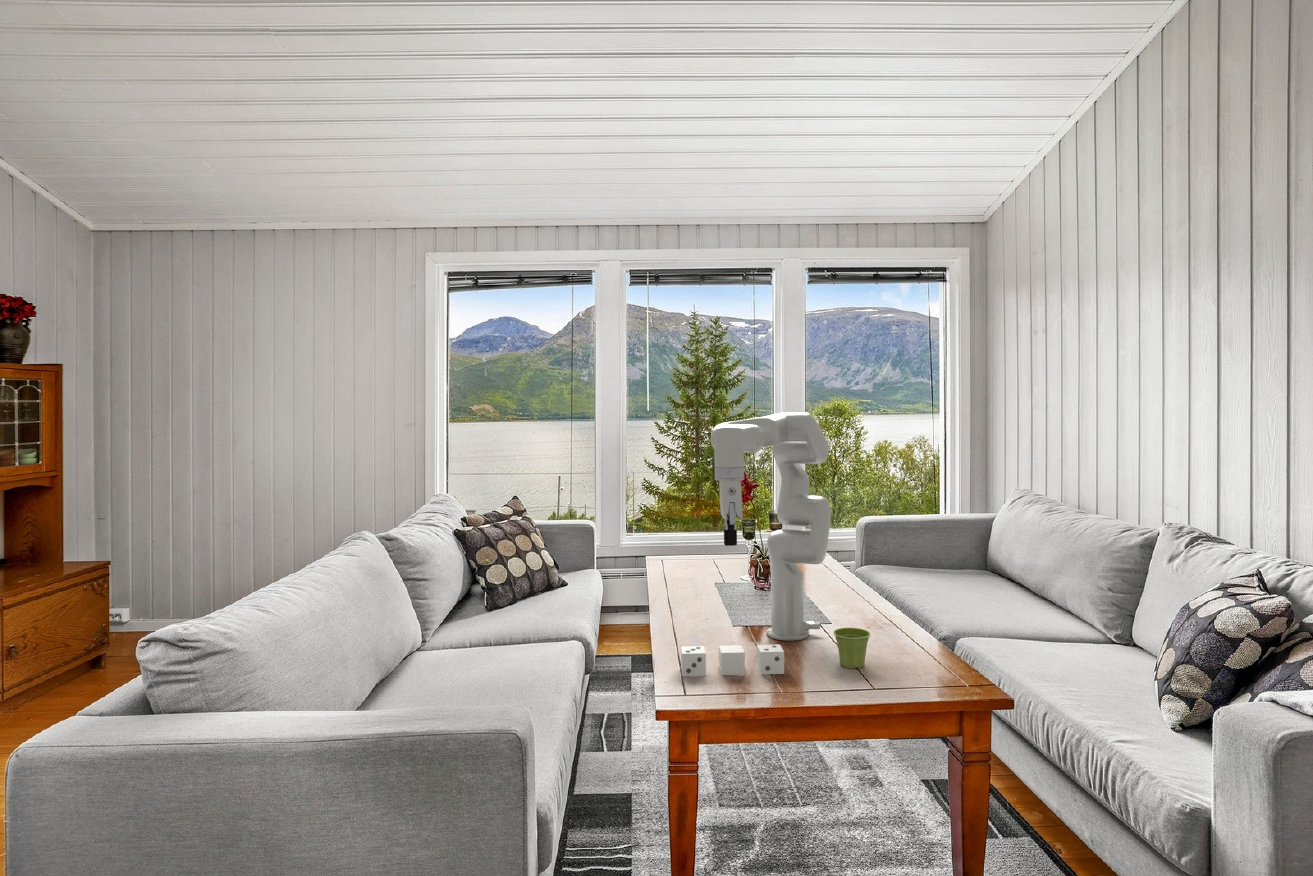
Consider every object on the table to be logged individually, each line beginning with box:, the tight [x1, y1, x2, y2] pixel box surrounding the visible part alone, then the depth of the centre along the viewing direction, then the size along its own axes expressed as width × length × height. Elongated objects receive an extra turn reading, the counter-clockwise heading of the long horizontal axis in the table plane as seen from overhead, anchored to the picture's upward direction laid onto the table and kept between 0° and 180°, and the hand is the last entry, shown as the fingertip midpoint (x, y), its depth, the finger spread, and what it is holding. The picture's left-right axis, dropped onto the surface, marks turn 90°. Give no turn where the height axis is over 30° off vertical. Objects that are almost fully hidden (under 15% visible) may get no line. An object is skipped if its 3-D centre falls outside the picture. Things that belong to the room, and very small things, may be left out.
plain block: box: [718, 644, 746, 676], centre depth 202 cm, size 6×6×6 cm
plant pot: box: [833, 627, 871, 669], centre depth 205 cm, size 9×9×9 cm
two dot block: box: [756, 644, 785, 675], centre depth 202 cm, size 6×6×6 cm
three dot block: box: [680, 645, 707, 677], centre depth 201 cm, size 6×6×6 cm
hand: (730, 544), depth 201 cm, fingers closed
